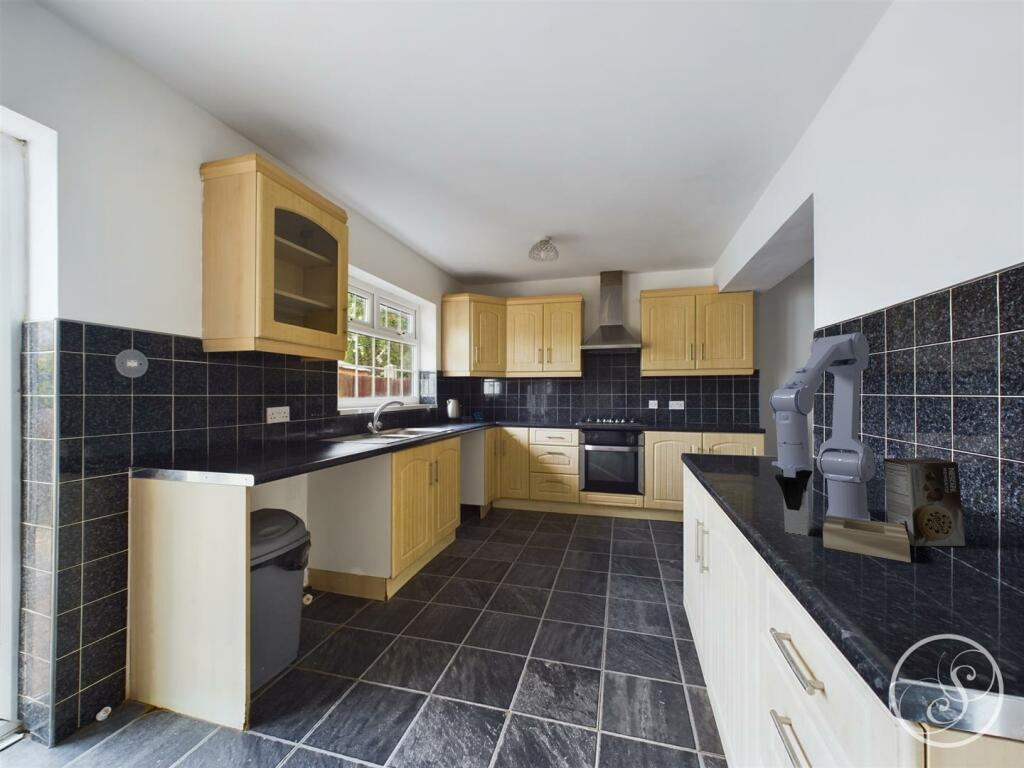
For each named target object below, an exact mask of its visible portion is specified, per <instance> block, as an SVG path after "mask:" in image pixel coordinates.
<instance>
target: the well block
mask: <svg viewBox="0 0 1024 768" xmlns="http://www.w3.org/2000/svg"><path fill="white" fill-rule="evenodd" d="M822 541H823V542H822V543H823V548H825V549H826V548H827V549H832V550H838V551H844V552H848V553H849V552H850V553H855V554H860V555H866V556H871V557H878V558H883V559H884V558H885V559H888V560H894V561H901V562H906V563H912V562H911V561H912V559H911V550H910V549H911V547H910V546H911V544H909V539H908V536H907V533H906V529H905V526H904V525H899V524H891V523H888V522H881V521H875V520H870V521H869V520H861V519H854V518H846V517H839V516H831V515H827V516H826V515H825V520H824V524H823V526H822Z"/></svg>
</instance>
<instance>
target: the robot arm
mask: <svg viewBox="0 0 1024 768" xmlns="http://www.w3.org/2000/svg"><path fill="white" fill-rule="evenodd" d="M810 353H811V355H810V357H809V358H808V360H807V362H806V363H805V366H802V367H799V368H796V369H795V371H794V372H793V373H792V375H790V377H789V379H787V381H786V383H785V384H784V385H783V387H782V388H777V389H776V390H775V391H773V392H772V393H771V394H770V397H769V401H768V406H769V409H770V411H771V414H772V420H773V422H775V427H776V429H775V430H776V445H777V447H776V448H777V451H776V452H777V461H771V466H774V467H778V468H780V469H781V473H782V474H778V473H776V474H775V475H774V477H775V480H776V482H777V484H778V485H779V487H780V490H781V492H782V497H783V496H784V500H785V503H786V506H787V509H789V510H797V511H799V510H800V507H801V501H802V493H803V489H808V488H807V486H808V483H809V480H810V479H811V476H812V474H813V470H811V469H812V464H811V462H810V460H811V459H810V445H809V444H810V442H809V441H810V440H809V423H808V422H809V421H808V415H809V414H810V413H811V412H812V411H813V408H814V401H815V394H816V392H818V390H819V388H820V387H821V386H822V384H823V381H824V378H823V373H824V372H825V371H826V372H827V373H828V372H829V373H831V374H833V376H834V384H833V388H834V389H833V407H832V425H831V426H832V431H831V438H829V439H827V440H826V441H824V442H823V443H820V447H819V452H818V455H817V458H816V467H817V469H818V471H819V472H820V474H821V475H823V478H824V479H826V481H827V482H826V483H827V498H828V499H827V500H828V508H827V511H826V513H825V517H826V516H827V515H831V516H839V517H846V518H854V519H861V520H869V521H871V512H870V511H868V500H867V499H868V496H867V482H869V481H870V480H871V479H872V478H874V477H875V476H874V475H875V473H876V462H875V460H874V451H873V449H872V448H871V447H870V446H869V445H867V444H866V443H864V442H862V441H861V440H860V439H859V425H860V423H859V421H860V419H859V418H860V399H861V398H860V395H861V394H860V393H861V373H862V372H863V371H864V370H866V369H867V368H868V366H869V361H870V358H869V357H870V344H869V341H868V339H867V337H866V335H865V334H863V333H862V332H860V331H857V332H853V333H848V334H847V333H845V334H840V335H839V334H838V335H832V336H825V337H821V336H820V337H815V339H813V340H812V342H811V344H810Z"/></svg>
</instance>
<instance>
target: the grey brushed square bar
mask: <svg viewBox="0 0 1024 768" xmlns="http://www.w3.org/2000/svg"><path fill="white" fill-rule="evenodd" d="M808 492H809V491H808V488H806V489H803V493H802V501H801V507H800V510H799V511H797V510H789V509H787V506H786V503H785V500H784V496H783V495H782V497H783V498H782V501H783V502H782V503H783V518H784V519H783V520H784V522H783V523H784V533H786V532H788V534H792V533H795V534H794V535H798V534H801V535H800V536H804V535H806V537H809V534H810V528H811V527H810V511H809V509H810V508H809V495H808V494H809V493H808Z"/></svg>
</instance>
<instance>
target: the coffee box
mask: <svg viewBox="0 0 1024 768" xmlns="http://www.w3.org/2000/svg"><path fill="white" fill-rule="evenodd" d="M883 471H884V483H885V484H884V485H885V486H884V487H885V499H886V501H885V502H886V513H887V515H886V516H887V523H891V524H899V525H904V526H905V529H906V533H907V536H908V539H909V544H910V546H913V547H965V546H966V541H965V540H966V539H965V531H964V519H963V504H962V494H961V483H960V473H959V462H958V461H950V460H946V459H942V458H934V457H894V458H892V457H891V458H887V457H884V458H883Z"/></svg>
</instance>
